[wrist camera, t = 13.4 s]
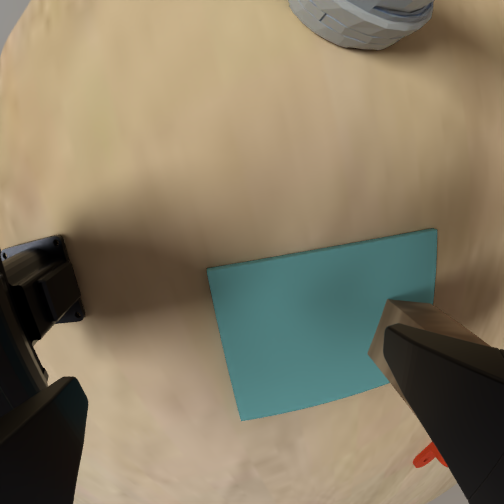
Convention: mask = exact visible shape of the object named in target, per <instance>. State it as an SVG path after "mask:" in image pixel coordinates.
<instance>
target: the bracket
mask: <svg viewBox="0 0 504 504" xmlns="http://www.w3.org/2000/svg"><path fill="white" fill-rule="evenodd" d="M435 457H436V458H437V459H438V460H439V462H440V463H441V464H443V465H444V466H446V467H448V466H447V464H446V462H445V461H444V459H443V458H442V456H441V454H440V453H439V451H438V449H437V448H436V446H435V444H434V443H433V441H432V442H431V443H430V444H429V445H428V446H427V447H426V448H425V449H424V450H423V451H422V452H421V453H420V454H418V455H417V456H416V457H415V459H414V460H413V464H414V465H415V467H416V468H420V467H422V466H424V465H426V464H428V463H429V462H430V461H431V460H433V459H434V458H435Z"/></svg>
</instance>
